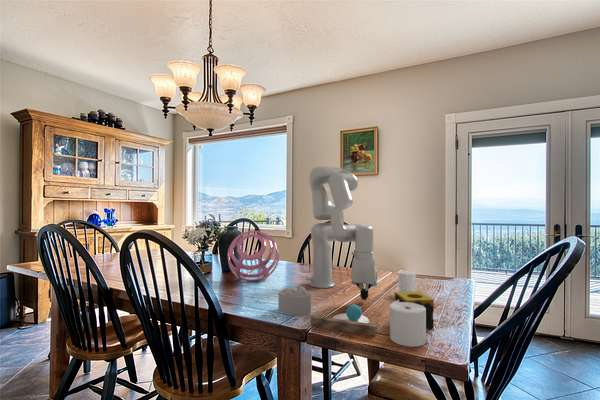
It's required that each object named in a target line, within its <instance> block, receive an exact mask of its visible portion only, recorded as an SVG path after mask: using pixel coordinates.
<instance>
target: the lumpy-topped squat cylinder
mask: <svg viewBox="0 0 600 400" xmlns="http://www.w3.org/2000/svg"><path fill="white" fill-rule="evenodd" d="M277 295H278V296H277V297H278V303H277V304H278V305H277V306H278V307H277V310H278V312H279V313H281V312H282V314H285V315H288V316H291V317H292V316H296V317H303V316H308V315H309V316H310V315H311V314H312V294H311V292H310V291H308V290H306V288H305V287H304V286H299V287H298V288H296V287H294V286H289V287H285V288H283V289H282V290H280V291H278V293H277Z"/></svg>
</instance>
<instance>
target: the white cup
mask: <svg viewBox="0 0 600 400" xmlns="http://www.w3.org/2000/svg"><path fill="white" fill-rule="evenodd" d="M416 277H417V272H415V271H412V270H399V271H397V281H398V282H397V283H398V292H416V281H417V279H416Z"/></svg>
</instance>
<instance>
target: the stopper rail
mask: <svg viewBox="0 0 600 400" xmlns="http://www.w3.org/2000/svg"><path fill="white" fill-rule="evenodd" d="M310 327H315V328H319V329H325V330H326V329H327V330H332V331H340V332H345V333H351V334H357V333H359V334H358V335H363V334H366V335H365V336H369V335H373V336H372V337H376V336H377V333H378V332H377V327H378V326H377V324H373V323H361V322H354V321H347V320H341V319H334V318H333V317H332V318H331V317H325V316H318V315H312V316H311V317H310ZM375 335H376V336H375Z"/></svg>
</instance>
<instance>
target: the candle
mask: <svg viewBox="0 0 600 400" xmlns="http://www.w3.org/2000/svg"><path fill="white" fill-rule="evenodd" d="M396 300H399V302H410V303H415V304H419V305H422V306H424V307H425V308H426V330H431V329H434V328H435V326H434V325H435V324H434V323H435V321H434V308H435V305H434V303H435V301H434V300H435V299H434V298H432V297H430V296H429V295H427V294H425V293H423V292H422V291H415V292H399V291H395V292H394V301H396Z"/></svg>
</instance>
